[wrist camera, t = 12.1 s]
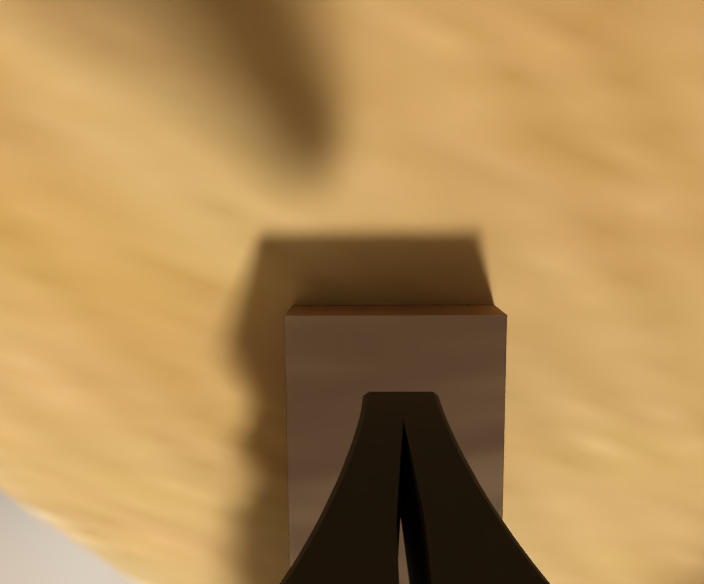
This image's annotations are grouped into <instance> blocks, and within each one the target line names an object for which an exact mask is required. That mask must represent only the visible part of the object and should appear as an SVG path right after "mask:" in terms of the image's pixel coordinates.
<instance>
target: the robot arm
mask: <svg viewBox="0 0 704 584" xmlns="http://www.w3.org/2000/svg"><path fill="white" fill-rule="evenodd" d="M400 520H401V524H402V532H403V539H404V547H405V554H406V562H407V569H408V577H409V584H550V583H549V582H548V581H547V580H546V578H545V577H544V576H543V575H542V573H541V572H540V571H539V570H538V568H537V567H536V566H535V565H534V563H533V562H532V561H531V559H530V558H529V557H528V555H527V554H526V553H525V551H524V550H523V549H522V547H521V546H520V545H519V543H518V542H517V541H516V539H515V538H514V536H513V535H512V533H511V532H510V531H509V529H508V528H507V526H506V525H505V523H504V522H503V520H502V519H501V517H500V516H499V514H498V513H497V511H496V509H495V508H494V506H493V505H492V503H491V502H490V500H489V499H488V497H487V495H486V494H485V492H484V490H483V489H482V487H481V485H480V484H479V482H478V480H477V478H476V476H475V475H474V473H473V471H472V469H471V467H470V466H469V464H468V462H467V460H466V459H465V457H464V455H463V453H462V451H461V449H460V447H459V445H458V443H457V441H456V439H455V436H454V434H453V432H452V430H451V428H450V426H449V423H448V421H447V419H446V416H445V414H444V411H443V408H442V405H441V402H440V399H439V396H438V395H437V394H435V393H434V392H368V393H366V394H365V395H364V396H363V399H362V407H361V412H360V417H359V421H358V425H357V428H356V431H355V434H354V437H353V441H352V444H351V447H350V449H349V452H348V454H347V457H346V459H345V462H344V465H343V467H342V470H341V472H340V475H339V477H338V479H337V482H336V484H335V486H334V488H333V490H332V492H331V494H330V496H329V499H328V501H327V503H326V505H325V507H324V509H323V511H322V513H321V515H320V517H319V519H318V521H317V523H316V525H315V527H314V528H313V530H312V532H311V534H310V536H309V538H308V539H307V541H306V543H305V544H304V546H303V548H302V550H301V551H300V553H299V555H298V556H297V558H296V560H295V561H294V563H293V565H292V566H291V568H290V569H289V571H288V572H287V574H286V575H285V577H284V578H283V580H282V582H281V583H280V584H399V568H398V554H399V537H400Z"/></svg>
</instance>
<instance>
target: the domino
mask: <svg viewBox="0 0 704 584" xmlns="http://www.w3.org/2000/svg"><path fill="white" fill-rule="evenodd" d="M284 317H285V366H286V415H287V464H288V512H289V561H290V568H291V566H292V565H293V563H294V561H295V560H296V558H297V556H298V555H299V553H300V551H301V550H302V548H303V546H304V544H305V543H306V541H307V539H308V538H309V536H310V534H311V532H312V530H313V528H314V527H315V525H316V523H317V521H318V519H319V517H320V515H321V513H322V511H323V509H324V507H325V505H326V503H327V501H328V499H329V496H330V494H331V492H332V490H333V488H334V486H335V484H336V482H337V479H338V477H339V475H340V472H341V470H342V467H343V465H344V462H345V459H346V457H347V454H348V452H349V449H350V447H351V444H352V441H353V437H354V434H355V431H356V428H357V425H358V421H359V417H360V412H361V407H362V399H363V396H364V395H365V394H366V393H368V392H434V393H435V394H437V395H438V396H439V399H440V402H441V405H442V408H443V411H444V414H445V416H446V419H447V421H448V423H449V426H450V428H451V430H452V432H453V434H454V436H455V439H456V441H457V443H458V445H459V447H460V449H461V451H462V453H463V455H464V457H465V459H466V460H467V462H468V464H469V466H470V467H471V469H472V471H473V473H474V475H475V476H476V478H477V480H478V482H479V484H480V485H481V487H482V489H483V490H484V492H485V494H486V495H487V497H488V499H489V500H490V502H491V503H492V505H493V506H494V508H495V509H496V511H497V513H498V514H499V516H500V517H501V519H502V515H503V470H504V424H505V378H506V333H507V315H506V314H505V313H504V312H502V311H501V310H500V309H499V308H497V307H496V306H495V305H312V306H292V307H291V308H290V309H289V311H288V312H287V313H286V315H285V316H284ZM398 568H399V584H409V577H408V569H407V562H406V554H405V547H404V539H403V532H402V524H401V520H400V537H399V554H398Z"/></svg>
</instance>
